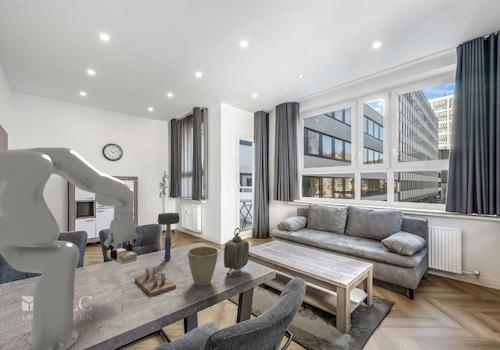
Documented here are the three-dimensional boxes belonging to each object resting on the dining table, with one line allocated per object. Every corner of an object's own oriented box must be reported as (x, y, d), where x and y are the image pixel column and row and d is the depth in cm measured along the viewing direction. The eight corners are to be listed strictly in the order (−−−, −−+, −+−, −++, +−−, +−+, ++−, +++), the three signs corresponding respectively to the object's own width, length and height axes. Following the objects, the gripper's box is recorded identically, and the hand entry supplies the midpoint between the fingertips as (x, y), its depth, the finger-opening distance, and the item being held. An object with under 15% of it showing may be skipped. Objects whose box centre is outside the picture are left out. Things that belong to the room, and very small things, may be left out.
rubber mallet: (157, 263, 138) (159, 214, 139) (156, 259, 144) (157, 212, 145) (178, 260, 144) (180, 213, 145) (176, 256, 150) (177, 211, 151)
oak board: (136, 260, 99) (136, 253, 99) (122, 264, 94) (122, 257, 94) (120, 254, 107) (120, 247, 107) (106, 257, 102) (107, 250, 102)
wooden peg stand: (176, 287, 108) (176, 273, 108) (150, 296, 100) (150, 281, 100) (158, 274, 122) (159, 262, 122) (134, 281, 114) (135, 268, 114)
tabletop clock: (234, 267, 135) (235, 225, 136) (249, 269, 132) (250, 226, 132) (223, 276, 122) (224, 229, 122) (238, 279, 118) (239, 231, 119)
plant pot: (181, 282, 113) (182, 250, 114) (206, 274, 124) (207, 245, 124) (197, 293, 103) (198, 258, 103) (223, 283, 113) (224, 251, 114)
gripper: (135, 213, 111) (133, 250, 110) (98, 217, 95) (96, 261, 94) (145, 214, 107) (144, 252, 107) (109, 219, 92) (107, 264, 91)
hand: (121, 256), depth 100 cm, fingers closed on oak board, 6 cm apart
